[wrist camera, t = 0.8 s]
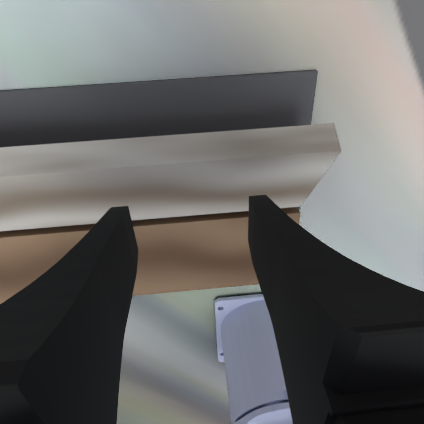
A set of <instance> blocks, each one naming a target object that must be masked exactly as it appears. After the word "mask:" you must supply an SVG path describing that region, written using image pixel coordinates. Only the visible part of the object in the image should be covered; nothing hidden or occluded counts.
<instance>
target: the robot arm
mask: <svg viewBox="0 0 424 424" xmlns="http://www.w3.org/2000/svg"><path fill="white" fill-rule="evenodd" d="M248 243H249V248H250V254H251V259H252V263H253V267H254V270H255V273H256V276H257V279H258V282H259V285H260V288H261V291H262V294H255V295H244V296H234V297H223V298H217V299H216V300H215V302H214V304H215V320H216V336H217V353H218V361H219V362H224V363H225V372H226V380H227V389H228V397H229V406H230V415H231V424H424V292H423V291H420V290H417V289H414V288H412V287H409V286H406V285H404V284H402V283H399V282H397V281H394V280H392V279H390V278H387V277H385V276H383V275H381V274H378V273H376V272H374V271H372V270H370V269H368V268H366V267H364V266H362V265H360V264H358V263H356V262H354V261H352V260H350V259H349V258H347V257H345V256H343V255H342V254H340V253H338V252H337V251H335V250H334V249H332V248H330V247H329V246H327V245H326V244H324V243H323V242H321V241H320V240H318V239H317V238H316V237H314V236H313V235H312V234H310V233H309V232H307V231H306V230H305V229H304V228H302V227H301V226H300V225H299V224H297V223H296V222H295V221H294V220H293V219H292V218H290V217H289V216H288V215H287V214H286V213H285V212H284V211H283V210H282V209H281V208H279V207H278V206H277V205H276V204H275V203H274V202H273V201H272V200H271V199H270V198H269V197H268V196H267V195H256V196H249V215H248ZM137 263H138V246H137V241H136V237H135V233H134V229H133V224H132V220H131V216H130V211H129V207H128V206H120V207H111V208H110V209H109V210H108V211H107V212H106V213H105V214H104V215H103V216H102V218H101V219H100V220H99V221H98V222H97V223H96V224H95V225H94V226H93V227H92V228H91V230H90V231H89V232H88V233H87V234H86V235H85V236H84V237H83V238H82V239H81V240H80V241H79V242H78V243H77V244H76V245H75V246H74V247H73V248H72V249H71V250H70V251H69V252H68V253H67V254H65V255H64V256H63V257H62V258H61V259H60V260H59V261H58V262H57V263H56V264H54V265H53V266H52V267H51V268H50V269H49V270H47V271H46V272H45V273H43V274H42V275H41V276H40V277H38V278H37V279H36V280H35V281H33V282H32V283H31V284H29V285H28V286H26V287H25V288H23V289H22V290H20V291H19V292H18V293H16V294H15V295H13V296H12V297H10V298H9V299H7V300H6V301H4V302H3V303H1V304H0V424H116V422H117V407H118V393H119V381H120V369H121V359H122V349H123V340H124V334H125V328H126V323H127V318H128V313H129V309H130V304H131V299H132V294H133V289H134V285H135V280H136V274H137Z"/></svg>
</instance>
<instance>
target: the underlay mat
mask: <svg viewBox="0 0 424 424" xmlns="http://www.w3.org/2000/svg"><path fill="white" fill-rule="evenodd" d="M317 73H318V71H317V70H306V71H291V72H275V73H260V74H245V75H230V76H215V77H200V78H184V79H169V80H154V81H139V82H124V83H108V84H93V85H78V86H63V87H48V88H32V89H17V90H2V91H0V147H13V146H27V145H41V144H55V143H69V142H82V141H96V140H110V139H124V138H137V137H151V136H165V135H179V134H192V133H206V132H220V131H234V130H248V129H261V128H275V127H289V126H303V125H311V118H312V111H313V103H314V96H315V88H316V81H317ZM297 208H298V210H299V209H300V207H297Z"/></svg>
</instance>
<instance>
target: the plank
mask: <svg viewBox="0 0 424 424" xmlns="http://www.w3.org/2000/svg"><path fill="white" fill-rule="evenodd" d="M340 152H341V148H340V144H339V140H338V137H337V133H336V129H335V125H334V123H330V124H316V125H303V126H289V127H275V128H261V129H248V130H234V131H220V132H206V133H192V134H179V135H165V136H151V137H137V138H124V139H110V140H96V141H82V142H69V143H55V144H41V145H27V146H13V147H0V231H11V230H23V229H35V228H47V227H59V226H71V225H84V224H96V223H97V222H98V221H99V220H100V219H101V218H102V216H103V215H104V214H105V213H106V212H107V211H108V210H109V209H110V208H111V207H120V206H128V207H129V211H130V216H131V220H144V219H156V218H168V217H180V216H192V215H205V214H217V213H229V212H241V211H249V196H256V195H267V196H268V197H269V198H270V199H271V200H272V201H273V202H274V203H275V204H276V205H277V206H278V207H279V208H289V207H301V205H302V204H303V203H304V201H305V200H306V198H307V197H308V196H309V194H310V193H311V192H312V190H313V189H314V187H315V186H316V185H317V183H318V182H319V181H320V179H321V178H322V177H323V175H324V174H325V172H326V171H327V170H328V168H329V167H330V166H331V164H332V163H333V161H334V160H335V159H336V157H337V156H338V155H339V153H340Z"/></svg>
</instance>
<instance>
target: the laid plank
mask: <svg viewBox="0 0 424 424" xmlns="http://www.w3.org/2000/svg"><path fill="white" fill-rule="evenodd" d="M281 209H282V210H283V211H284V212H285V213H286V214H287V215H288V216H289V217H290V218H292V219H293V220H294V221H295V222H296V223H297V224H299V218H300V212H299V210H298V208H297V207H289V208H281ZM248 215H249V211H241V212H229V213H217V214H205V215H192V216H180V217H168V218H156V219H144V220H132V224H133V229H134V233H135V237H136V241H137V246H138V263H137V274H136V280H135V285H134V289H133V294H132V296H135V295H145V294H156V293H167V292H178V291H189V290H200V289H211V288H222V287H233V286H244V285H254V284H259V282H258V279H257V276H256V273H255V270H254V267H253V263H252V259H251V254H250V248H249V243H248ZM94 225H95V224H84V225H71V226H59V227H47V228H35V229H23V230H11V231H0V304H1V303H3V302H4V301H6V300H7V299H9V298H10V297H12V296H13V295H15V294H16V293H18V292H19V291H20V290H22V289H23V288H25V287H26V286H28V285H29V284H31V283H32V282H33V281H35V280H36V279H37V278H38V277H40V276H41V275H42V274H43V273H45V272H46V271H47V270H49V269H50V268H51V267H52V266H53V265H54V264H56V263H57V262H58V261H59V260H60V259H61V258H62V257H63V256H64V255H65V254H67V253H68V252H69V251H70V250H71V249H72V248H73V247H74V246H75V245H76V244H77V243H78V242H79V241H80V240H81V239H82V238H83V237H84V236H85V235H86V234H87V233H88V232H89V231H90V230H91V228H92V227H93V226H94Z"/></svg>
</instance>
